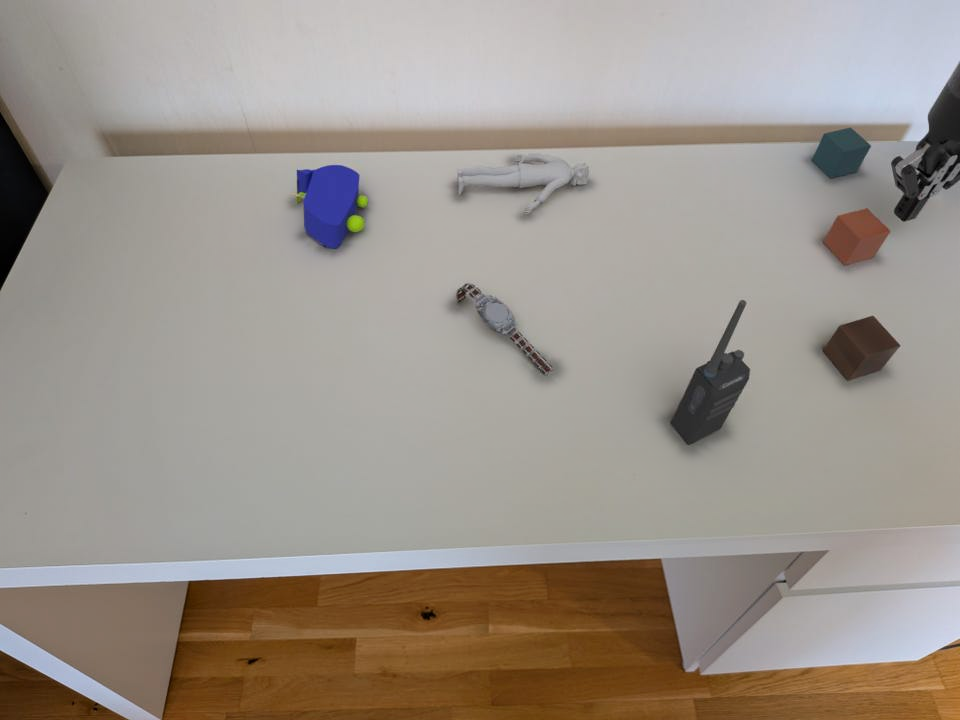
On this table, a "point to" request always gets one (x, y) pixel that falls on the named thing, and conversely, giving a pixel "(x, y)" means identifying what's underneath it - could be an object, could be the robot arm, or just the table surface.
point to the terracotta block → (856, 236)
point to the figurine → (526, 175)
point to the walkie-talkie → (713, 389)
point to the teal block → (840, 152)
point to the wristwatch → (501, 322)
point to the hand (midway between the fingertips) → (903, 216)
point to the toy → (330, 203)
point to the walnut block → (860, 347)
